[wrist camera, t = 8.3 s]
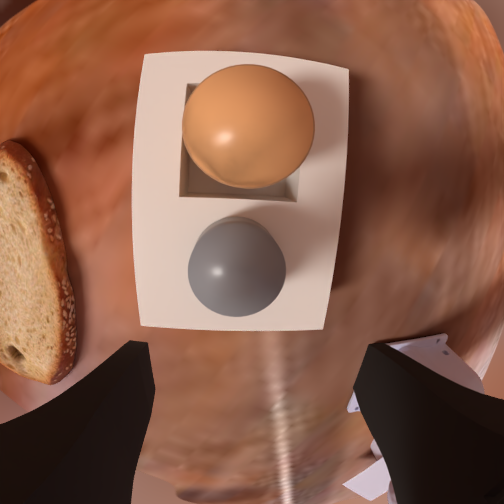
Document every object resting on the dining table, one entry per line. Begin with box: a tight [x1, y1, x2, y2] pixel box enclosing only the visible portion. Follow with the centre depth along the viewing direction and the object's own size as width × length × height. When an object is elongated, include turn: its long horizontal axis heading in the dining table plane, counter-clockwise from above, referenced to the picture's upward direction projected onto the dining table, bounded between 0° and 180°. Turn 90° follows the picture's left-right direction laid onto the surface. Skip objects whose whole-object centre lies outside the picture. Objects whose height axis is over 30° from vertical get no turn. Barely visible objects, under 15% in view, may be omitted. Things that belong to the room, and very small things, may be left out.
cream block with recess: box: [132, 51, 349, 331], centre depth 13 cm, size 10×14×6 cm
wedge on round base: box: [342, 440, 391, 501], centre depth 23 cm, size 9×7×13 cm
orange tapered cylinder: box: [182, 64, 315, 189], centre depth 11 cm, size 4×4×7 cm
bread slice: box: [0, 140, 77, 385], centre depth 14 cm, size 18×18×4 cm
